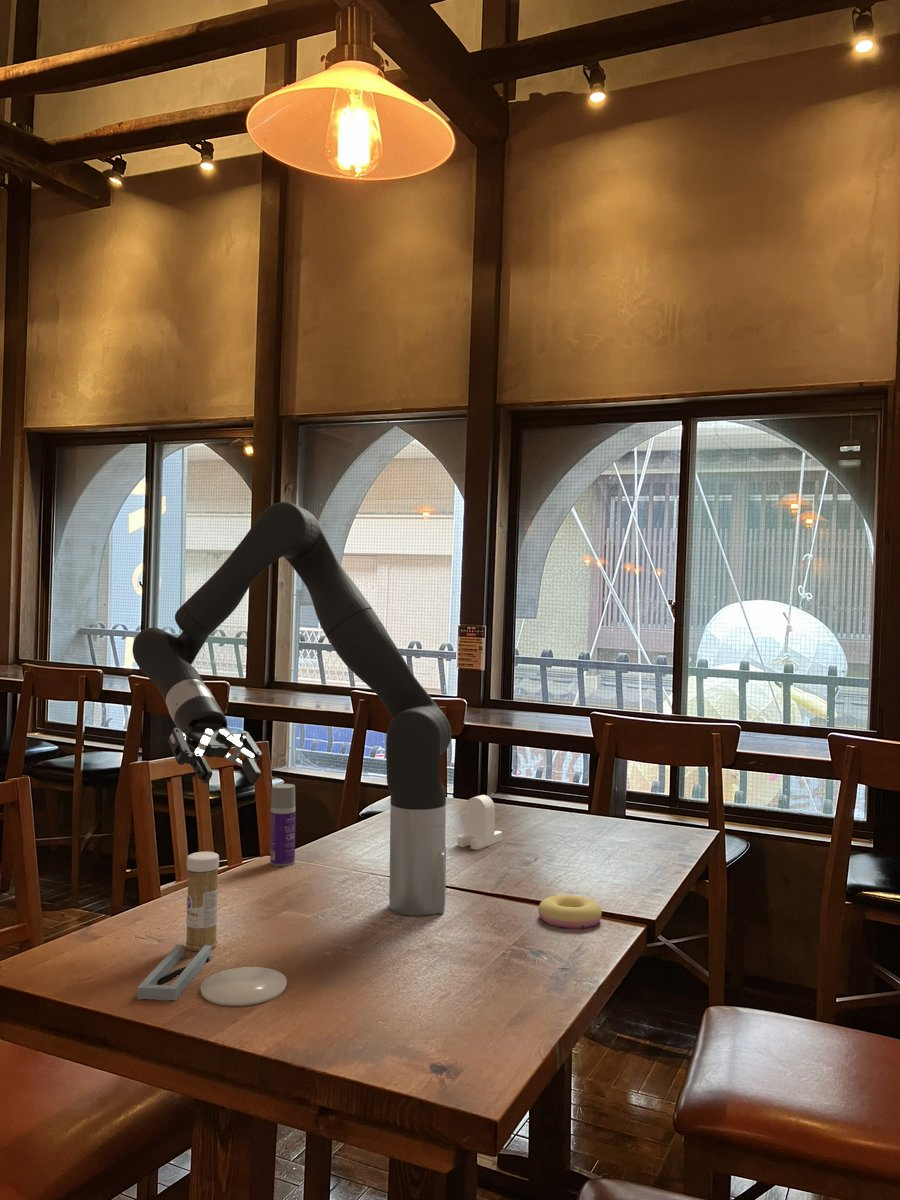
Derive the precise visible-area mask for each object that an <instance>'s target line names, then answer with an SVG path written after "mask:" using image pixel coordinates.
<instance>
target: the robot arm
mask: <svg viewBox="0 0 900 1200" xmlns="http://www.w3.org/2000/svg"><path fill="white" fill-rule="evenodd" d="M281 558H284V559H285V560H286V561H287V562H288V564H290V566H291V567H292V569H294V571H295V573H297V574H298V575H297V576H298V577H299V578H300V579H301V581H302V582H303V584H304V585H305V587H306V589H307V590H308V593H309V595H310V598H311V601H312V604H313V608H314V612H315V614H316V617H317V620H318V623H319V625H320V627H321V630H322V631H323V633H324V635H325V636H326V638H327V640H328V641H329V643H330V645H331V647H332V648H333V649H334V651H335V653H336V654H337V656H338V657H339V658H340V659H341V661H342V662H343V663H344V664H345V666H347V668H348V669H350V671H352V673H353V674H354V675H356V676H357V678H359V679H360V680H361V681H362V682H363V683H364V684H365V685H367V686H368V688H370V689H371V690H372V691H373V692H374V693H375V694H376V696H377V697H378V698H379V699H380V701H381V702H382V704H383V705H384V707H385V708H386V710H387V712H388V713H389V716H390V717H391V718H392V720H391V721H390V723H389V725H388V728H387V732H386V743H385V757H386V758H385V759H386V760H385V761H386V762H385V763H386V764H385V765H386V783H387V784H386V785H387V788H388V792H389V795H390V812H389V813H390V814H389V815H390V817H389V818H390V819H389V835H390V836H389V890H388V891H389V893H388V899H389V905H388V906H389V909H390V910H391V911H392V912H394V913H396V914H400V915H405V916H429V915H435V914H444V913H445V908H446V907H445V906H446V892H447V891H446V885H447V883H446V882H447V881H446V880H447V879H446V878H447V876H446V873H447V872H446V871H447V846H446V827H447V826H446V824H447V823H446V821H447V820H446V817H447V815H446V813H447V811H446V809H447V808H446V807H447V806H446V805H447V790H446V787H445V786H444V785H443V784H442V783H443V782H442V779H441V778H442V777H441V755H443V754H444V753H445V751H447V749H448V748H449V745H450V743H451V740H452V728H451V725H450V722H449V720H448V717H447V716H446V714H445V713H444V712H443V710H442V709H441V708H440V707H439V705H438V704H437V703H436V702H435V700H434V699H433V697H431V695H429V693H428V692H427V690H425V688H424V687H423V685H422V684H420V682H419V681H418V679H417V678H416V676H415V675H414V674H413V672H412V671H411V669H410V667H409V666H408V664H407V662H406V660H405V658H404V657H403V656H402V653H401V652H400V650H399V649H398V647H397V646H396V644H395V642H394V641H393V639H392V638H391V636H390V635H389V633H388V631H387V630H386V628H385V626H384V625H383V623H382V621H381V620H380V618H379V616H378V615H377V613H376V611H375V610H374V609H373V607H372V606H371V604H370V603H369V602H368V600H367V599H366V598H365V596H364V594H363V593H362V592H361V590H360V589H359V587H358V586H357V585H356V584H355V582H354V581H353V579H352V577H350V575H349V574H348V573H347V571H346V570H345V569H344V567H343V566H342V565H341V563H340V562H339V559H338V558H337V556H336V554H335V552H334V550H333V548H332V547H331V545H330V543H329V540H328V539H327V537H326V535H325V533H324V531H323V528H322V526H321V524H320V523H319V521H318V520H317V518H316V517H315V515H314V514H312V512H310V511H309V510H307V509H306V508H303V507H301V506H299V505H298V504H295V503H292V502H287V501H281V502H276V503H273V504H271V505H270V506H268V507H267V508H266V509H265V510H264V511H263V512H262V513H261V514H260V515H259V516H258V518H257V519H256V521H255V522H254V523H253V525H252V526H251V528H249V530H248V532H247V533H246V534H245V536H244V537H243V539H242V540H241V541H240V542H239V544H238V545H237V547H236V548H235V549H234V550H233V551H232V553H231V554H230V555H229V556H228V557H227V559H226V560H225V561H224V562H223V563H222V564H221V565H220V567H219V568H218V569H217V570H216V571H215V572H214V573H213V574H212V576H211V577H209V578H208V579H207V581H206V582H204V584H202V585H201V587H199V588H198V589H197V590H196V591H195V592H194V593H193V594H192V595H191V596H190V597H189V598H188V599H187V600H186V601H185V602H184V603H183V604H182V605H181V606H180V607H179V608H178V609H177V611H176V612H175V615H174V620H175V623H176V625H177V627H178V628H179V629H180V630H181V633H180V634H179V635H178V636H175V635H173V634H171V633H169V632H167V631H165V630H164V629H161V628H158V627H147V628H145V629H143V630H141V631H139V633H137V635H136V636H135V638H134V639H133V643H132V648H131V649H132V656H133V659H134V661H135V663H136V665H137V666H138V667H139V669H140V671H141V672H143V674H144V675H145V676H146V677H147V678H148V679H149V681H150V682H151V683H152V684H154V686H156V688H158V690H159V693H160V696H161V697H162V699H163V701H164V702H165V703H164V704H166V708H167V710H168V713H169V715H170V717H171V719H172V721H173V723H174V725H175V726H176V727H174V728H173V730H172V732H171V734H170V736H169V737H168V740H167V742H168V746H170V749H171V752H172V754H173V757H174V759H175V761H176V763H177V764H178V765H180V766H183V765H184V764H186V765H187V764H188V766H189V767H190V768H192V769H193V771H194V772H195V773H194V774H195V775H196V777H197V778H198V779H199V780H201V782H202V784H209V782H210V781H211V778H212V777H213V771H212V769H211V767H210V765H209V763H208V761H207V760H206V758H214V757H215V758H223V759H224V760H226V761H227V762H229V763H231V764H232V763H235V764H237V765H239V767H241V768H242V769H241V770H242V771H243V773H244V774H245V777H246V778H247V780H248V781H249V783H250V784H256V783H257V782H258V780H259V778H260V775H261V769H260V768H259V766H258V765H257V763H258V761H259V759H260V757H261V756H262V754H263V753H262V751H261V750H260V748H259V747H258V745H257V744H256V742H255V740H254V739H253V738H252V736H251V735H250V732H248V731H246V730H243V731H242V732H241V733H240V734H234V732H232V731H230V729H229V727H228V723H227V721H228V720H227V716H225V714H224V711H223V710H222V709H221V707H220V705H219V704H218V702H217V700H216V699H215V697H214V695H213V693H212V691H211V690H210V688H208V687H207V685H206V684H205V682H204V680H203V679H202V677H201V676H200V674H199V672H198V670H197V669H196V668H195V666H193V663H194V661H195V659H196V658H197V657H198V654H199V653H200V651H201V649H202V648H203V646H204V644H205V642H206V641H207V639H208V638H209V636H210V635H211V634H213V633H214V631H215V630H216V629H218V627H219V626H220V625H222V624H223V623H224V621H226V620H227V619H228V618H229V617H230V615H231V614H233V612H234V611H235V610H236V609H237V607H238V606H239V605H240V603H241V601H242V600H243V598H244V597H245V595H246V593H247V591H248V590H249V589H250V587H251V585H252V584H253V583H254V581H255V580H256V579H257V578H258V576H260V574H261V573H263V572H264V571H265V570H266V569H267V568H268V567H270V566H271V565H273V563H275V562H276V561H278V560H279V559H281ZM189 746H190V747H191V748H192V749H193V750H194V752H192V751H191V749H190V747H189ZM232 747H234V751H233V753H232V754H231V753H230V751H231V749H232ZM240 755H242V756H244V758H241V757H240ZM204 756H205V757H206V758H205V757H204Z"/></svg>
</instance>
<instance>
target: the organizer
mask: <svg viewBox="0 0 900 1200" xmlns="http://www.w3.org/2000/svg"><path fill="white" fill-rule="evenodd" d="M464 805H465V807H464V833H463V834H460V835H457V847H461V848H464V847H467V846H470V849H472V850H480V849H483V848H487V847H489V846H491V845H492V846H493V845H494V844H498V843H500V842H502V841H503V831H501V830H495V828H496V827H495V825H496V824H495V823H496V821H495V820H496V819H495V818H496V815H495V811H496V808H495V803H494V801H493V799H492V798H491V797H489V795H486V794H481V795H476V796H474V797H470V798H469V799H468V800H467V801H466V803H465V804H464Z"/></svg>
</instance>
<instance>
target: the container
mask: <svg viewBox="0 0 900 1200" xmlns="http://www.w3.org/2000/svg"><path fill="white" fill-rule="evenodd" d="M269 842H270V848H269V849H270V851H269V852H270V855H269V856H270V857H269V859H270V860H269V862H270V863H269V864H270V866H272V865H273V867H276V866H285V867H290V866H289V865H291V866H293V865H295V863H296V861H295V859H296V785H295V784H294V783H293V784H292V783H276V784H273V785H271V802H270V841H269ZM292 864H293V865H292Z"/></svg>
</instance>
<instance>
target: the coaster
mask: <svg viewBox="0 0 900 1200" xmlns="http://www.w3.org/2000/svg"><path fill="white" fill-rule="evenodd" d="M287 981H288V980H287V977H286V975H284V974H283V973H282V972H280V971H278V970H275V969H272V968H269V967H268V968H267V967H263V966H262V967H260V966H243V967H234V968H229V969H225V970H221V971H218V972H216V973H213V974H211V975H209V976H208V977H206V978H205V979H204V980H203V981H202V982H201V984H200V994H201V996H203V997H202V998H203V999H204V998H205V999H204V1000H206V1001H208V1002H210V1003H213V1004H215V1005H219V1006H226V1007H228V1006H229V1007H244V1006H253V1005H257V1004H262V1003H266V1002H268V1001H271V1000H273V999H275V998H278V997H279V996H280V995H281V996H282V994H283V993H284V992H285V991H286V989H287V984H288V983H287Z"/></svg>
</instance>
